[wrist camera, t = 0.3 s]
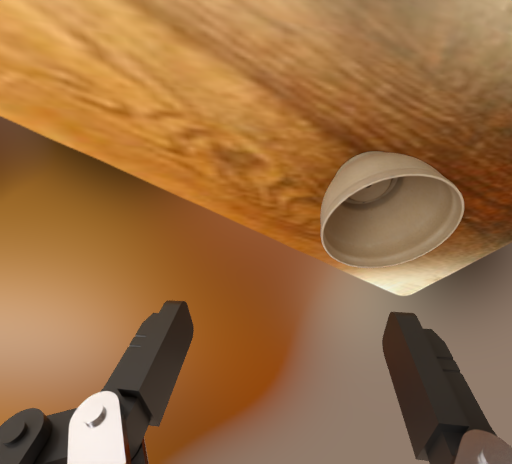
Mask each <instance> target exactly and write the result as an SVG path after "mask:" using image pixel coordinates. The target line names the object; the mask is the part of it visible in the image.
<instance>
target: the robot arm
mask: <svg viewBox="0 0 512 464" xmlns="http://www.w3.org/2000/svg"><path fill="white" fill-rule="evenodd" d="M192 337H193V323H192V320H191V316H190V313H189V310H188V306H187V303H186V302H185V301H166V302H165V303H164V305H163V307H162V309H161V310H160V312H159V313H153V314H152V315H151V316H150V317H148V318H147V319H146V320H145V321H144V322H143V323H142V325H141V326H140V328H139V330H138V331H137V333H136V336H135V337H134V338H133V340H132V341H131V343H130V346H129V347H128V348H127V350H126V352H125V353H124V355H123V357H122V358H121V360H120V362H119V363H118V365H117V367H116V368H115V370H114V372H113V373H112V375H111V377H110V378H109V380H108V382H107V383H106V385H105V386H104V388H103V389H102V390H101V392H99V393H96V394H94V395H92V396H90V397H89V398H88V399H86V400H85V401H84V402H83V403H82V404H81V405H80V406H79V407H78V408H75V409H72V410H67V411H64V412H60V413H56V414H52V415H48V416H46V415H44V413H43V412H42V411H41V410H39V409H35V408H31V409H26V410H23V411H21V412H19V413H17V414H15V415H14V416H12V417H11V418H9V419H8V420H7V421H6V422H4V423H3V424H2V425H1V426H0V464H149V463H148V457H147V452H146V446H145V440H144V435H145V432H146V430H147V427H148V425H151V426H159V425H160V422H161V420H162V417H163V415H164V412H165V409H166V407H167V404H168V401H169V399H170V396H171V393H172V391H173V388H174V386H175V383H176V380H177V377H178V375H179V372H180V370H181V367H182V364H183V362H184V359H185V357H186V354H187V351H188V349H189V346H190V343H191V341H192ZM382 344H383V352H384V356H385V359H386V363H387V366H388V369H389V372H390V376H391V379H392V382H393V385H394V389H395V392H396V395H397V398H398V401H399V405H400V408H401V411H402V415H403V418H404V421H405V424H406V428H407V431H408V434H409V438H410V440H411V444H412V447H413V451H414V454H415V457H416V459H418V460H426V461H429V462H430V464H512V447H511V446H510V445H509V444H507V443H506V442H505V441H504V440H502V439H501V438H499V437H498V436H497V435H496V434H495V432H494V431H493V430H492V428H491V427H490V425H489V423H488V421H487V419H486V418H485V416H484V414H483V412H482V410H481V409H480V406H479V405H478V403H477V401H476V399H475V397H474V396H473V394H472V392H471V390H470V388H469V386H468V384H467V382H466V381H465V379H464V377H463V375H462V374H461V373H460V370H459V368H458V366H457V364H456V362H455V361H454V360H453V357H452V355H451V353H450V351H449V349H448V347H447V346H446V344H445V342H444V341H443V340H442V339H441V338H440V337H439V336H438V335H437V334H436V333H435V332H434V331H433V330H432V329H423V328H422V326H421V324H420V322H419V320H418V318H417V316H416V315H415V314H414V313H402V312H391V313H390V314H389V317H388V321H387V325H386V328H385V331H384V335H383V340H382Z"/></svg>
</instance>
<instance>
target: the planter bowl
mask: <svg viewBox="0 0 512 464" xmlns="http://www.w3.org/2000/svg"><path fill="white" fill-rule="evenodd" d="M367 186H369V187H367ZM463 213H464V200H463V197H462V194H461V193H460V191H459V190H458V188H457V187H456V186H455V185H454V184H453V183H452V182H450V181H449V180H448V179H446V178H445V177H443V176H442V175H441V174H440V173H439V172H438V171H437V170H436V169H434V168H433V167H431V166H430V165H428V164H427V163H425V162H423V161H421V160H419V159H416V158H414V157H411V156H407V155H404V154H398V153H385V152H380V151H371V152H366V153H362V154H359V155H357V156H355V157H353V158H351V159H350V160H348V161H347V162H346V163H345V164H344V165H343V166H342V167H341V168H340V169H339V170H338V172H337V174H336V176H335V178H334V179H333V181H332V182H331V183H330V185H329V187H328V189H327V191H326V193H325V196H324V198H323V202H322V207H321V218H320V219H321V241H322V244H323V247H324V249H325V250H326V252H327V253H328V254H329V255H330V256H331V257H332V258H334V259H335V260H337V261H339V262H341V263H343V264H346V265H349V266H353V267H360V268H382V267H389V266H394V265H399V264H402V263H405V262H408V261H411V260H413V259H416V258H418V257H420V256H422V255H424V254H426V253H428V252H430V251H432V250H433V249H435V248H436V247H438V246H439V245H440V244H442V243H443V242H444V241H445V240H446V239H447V238H448V237H449V236H450V235H451V234H452V233H453V232H454V230H455V229H456V228H457V226H458V224H459V223H460V221H461V219H462V216H463Z"/></svg>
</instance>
